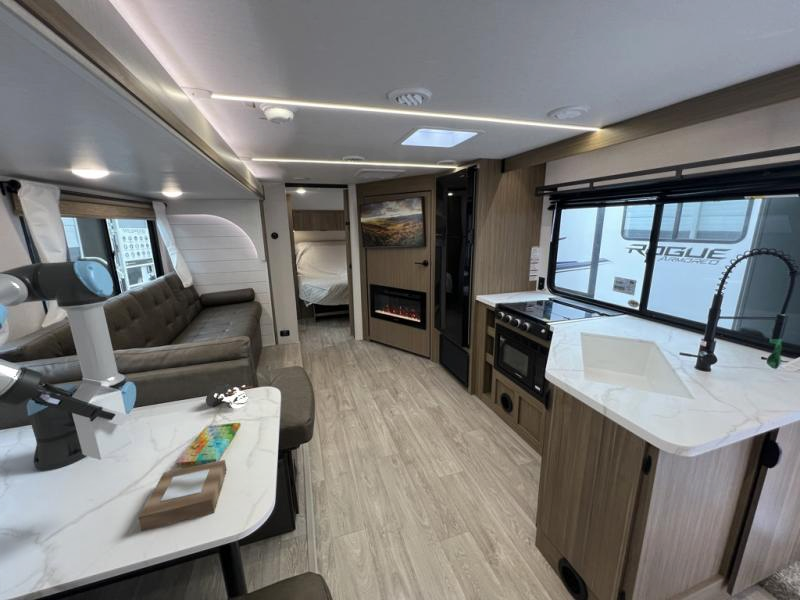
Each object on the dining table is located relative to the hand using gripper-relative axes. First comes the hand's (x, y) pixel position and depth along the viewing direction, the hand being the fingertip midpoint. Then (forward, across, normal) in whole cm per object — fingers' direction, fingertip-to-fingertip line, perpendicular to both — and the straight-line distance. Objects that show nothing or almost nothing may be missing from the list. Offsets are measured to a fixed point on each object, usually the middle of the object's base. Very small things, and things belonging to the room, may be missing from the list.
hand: (118, 415), depth 84 cm
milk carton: (+3, 0, -8) cm, 9 cm away
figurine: (+49, -27, +12) cm, 57 cm away
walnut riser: (+23, +12, -13) cm, 29 cm away
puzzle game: (+34, -3, -3) cm, 35 cm away
